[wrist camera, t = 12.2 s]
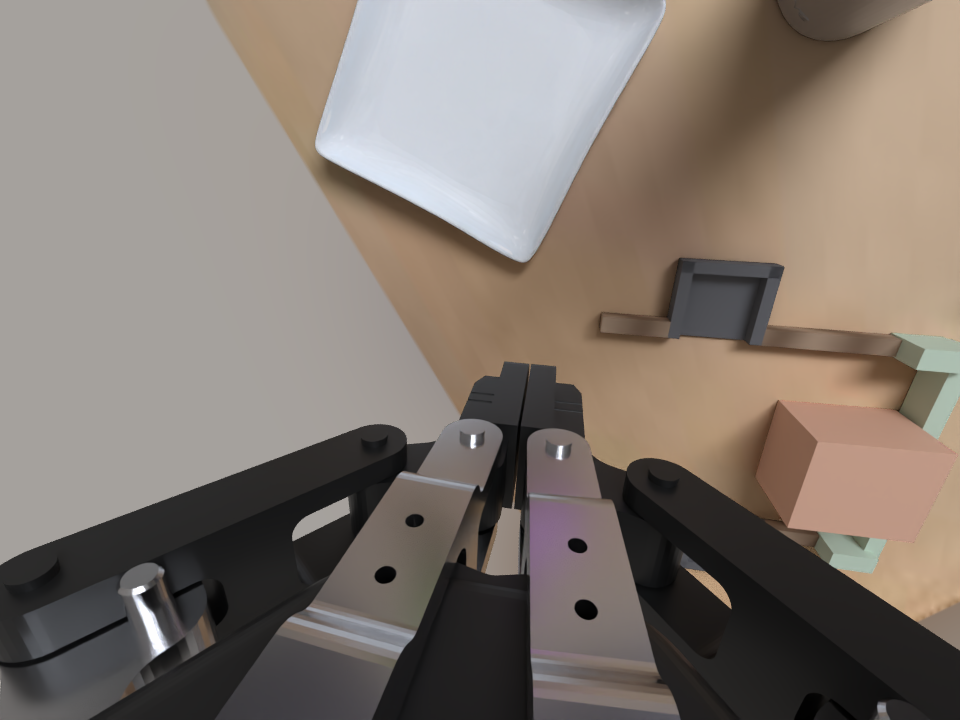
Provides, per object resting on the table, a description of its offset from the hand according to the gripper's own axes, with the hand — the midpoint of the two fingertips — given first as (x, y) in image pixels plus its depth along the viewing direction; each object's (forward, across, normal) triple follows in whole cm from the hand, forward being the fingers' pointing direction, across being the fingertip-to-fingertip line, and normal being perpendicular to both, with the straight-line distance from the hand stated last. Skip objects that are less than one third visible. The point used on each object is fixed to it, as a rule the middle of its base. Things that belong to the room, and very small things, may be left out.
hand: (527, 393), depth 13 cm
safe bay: (+31, -32, +18) cm, 48 cm away
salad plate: (+31, +7, -12) cm, 34 cm away
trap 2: (+31, -15, +4) cm, 35 cm away
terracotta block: (+31, -28, +18) cm, 45 cm away
